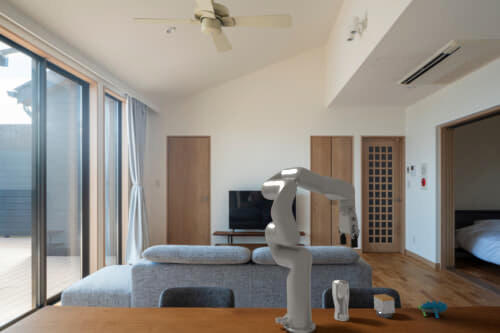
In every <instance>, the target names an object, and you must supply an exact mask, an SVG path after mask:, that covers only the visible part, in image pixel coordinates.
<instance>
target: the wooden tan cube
mask: <svg viewBox="0 0 500 333" xmlns="http://www.w3.org/2000/svg"><path fill="white" fill-rule="evenodd" d="M373 304H374V305H373V306H374V308H373V309H374V310H375V311H376V310H377V311H379V312H381V313H382V314H388V313H393V314H395V313H396V310H395V309H396V308H395V298H394V297H392V296H390V295H388V294H385V293H382V294H381V293H380V294H374V295H373Z"/></svg>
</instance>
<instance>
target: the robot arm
mask: <svg viewBox="0 0 500 333" xmlns="http://www.w3.org/2000/svg"><path fill="white" fill-rule="evenodd" d="M297 187H298V188H300V189H303V190H306V191H309V192H311V193H314V194H319V195H320V194H321V195H324V196H325V197H326V198H327V199H329V200H330V201H332V200H333V201H338V206H339V207H338V208H339V217H338V218H339V220H338V222H339V223H338V226H337V229H338V233H339V234H338V236H339V244H340V245H341V246H342V245H343V246H344V245H345V246H346V245H347V236H346V235H350V237H351V238H350V247H351V248H352V249H356V248H357V249H358V248H359V241H358V240H359V236H360V232H361V231H360V229H359V223H358V222H359V221H358V216H357V211H356V210H357V209H356V189H355V186H354V185H353V184H351V183H350V182H349V181H346V180H343V179H342V178H341V179H339V178H336V177H332V176H331V177H330V176H327V175H321V174H320V173H317V172H314V171H313V170H310V169H309V168H305V167H303V166H296V167H294V166H293V167H287V168H284V169H282V170H280V171H278V172H277V173H275V174H274V175H272V176H271V177H269V178H268V179H266V180H265V181H264V182H263V183H262V185H261V187H260V188H261V190H260V191H261V195H262V196H263V197H264V199H266V200H271V201H273V203H272V206H271V210H270V216H271V219H272V221H271V222H269V223H268V224H267V226H265V231H264V238H265V242H266V243H267V246H268V249H269V251H270V254H271V256H272V258H273V260H274V261H275V263H276V264H277V265H278V266H282V267H285V268H288V269H290V270H289V273H288V274H287V277H286V307H287V308H286V310H287V311H286V312H287V313H284V315H283V316H282V317H281V316H280V317H275V323H276V324H281V325H282V326H283V328H284V329H285V330H286V331H287V332H290V333H312V332H314V331H316V328H317V327H316V326H317V325H316V323H315V322H314V321H313V320H312V294H311V293H312V289H311V274H312V272H311V271H312V265H313V254H312V251H310V249H308V247H307V248H306V247H304V246H302V245H299V244H300V242H301V233H300V230H299V227H298V224H297V222H296V220H295V217H294V214H293V207H292V206H293V204H294V199H295V197H296V196H297V195H296V194H297V192H298V188H297Z"/></svg>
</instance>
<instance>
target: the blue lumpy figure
mask: <svg viewBox="0 0 500 333" xmlns="http://www.w3.org/2000/svg"><path fill="white" fill-rule="evenodd" d="M431 301H432V302H431ZM431 301H429V300H427V301H426V302H423V303H422V305H420V304H419V305H417V306H418V309H419V310H421V312H422V313H423V316H426V317H427V315H426V313H427V312H428V313H427V314H430V313H432V314H433V313H435V314H434V315H435V318H439V319H440V316H439V314H441V313H442V312H446V310H447V309H448V308H449V307H448V306H447V303H445V302H443V301H442V300H438V301H437V300H435V299H434V300H431Z"/></svg>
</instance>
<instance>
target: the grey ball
mask: <svg viewBox="0 0 500 333" xmlns="http://www.w3.org/2000/svg"><path fill="white" fill-rule="evenodd" d="M375 311H376V316H377V315H378V316H377V317H379V316H380V317H379V318H382V317H383V318H382V319H392V318H393V317H392V316H393V314H394V313H388V314H382V313H381V312H379V311H377V310H375ZM391 317H392V318H391Z"/></svg>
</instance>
